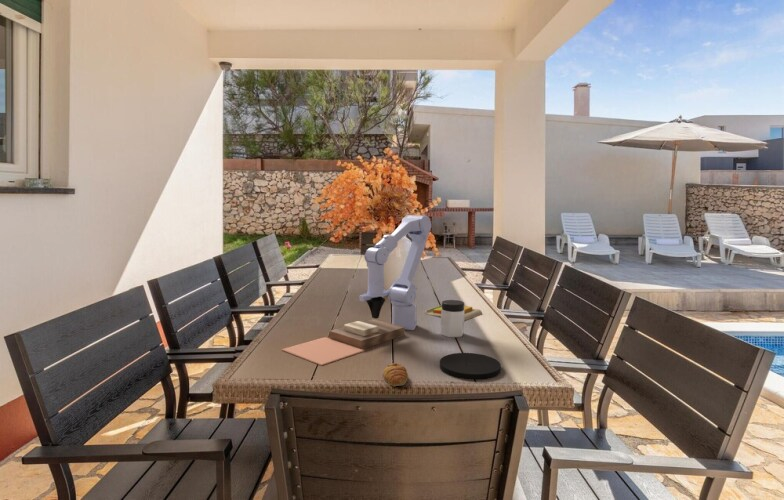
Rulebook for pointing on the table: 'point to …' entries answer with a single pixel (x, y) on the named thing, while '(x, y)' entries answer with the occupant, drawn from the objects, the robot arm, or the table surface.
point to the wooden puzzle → (468, 312)
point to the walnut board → (384, 334)
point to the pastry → (395, 374)
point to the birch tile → (360, 328)
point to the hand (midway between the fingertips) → (375, 317)
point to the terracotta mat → (323, 351)
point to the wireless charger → (470, 366)
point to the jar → (452, 318)
